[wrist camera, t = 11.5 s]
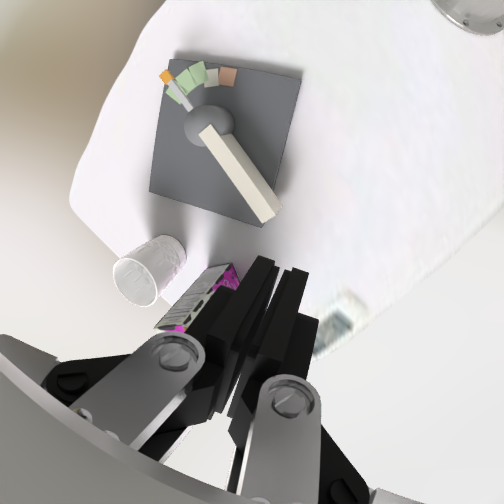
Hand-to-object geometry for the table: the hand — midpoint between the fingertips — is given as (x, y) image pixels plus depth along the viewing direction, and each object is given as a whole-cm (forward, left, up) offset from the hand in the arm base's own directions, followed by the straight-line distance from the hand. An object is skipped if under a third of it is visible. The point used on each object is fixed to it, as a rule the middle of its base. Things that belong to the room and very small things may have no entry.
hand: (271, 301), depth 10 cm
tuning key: (0, -13, -30) cm, 32 cm away
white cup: (+21, -20, -31) cm, 43 cm away
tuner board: (+1, -15, -31) cm, 35 cm away
